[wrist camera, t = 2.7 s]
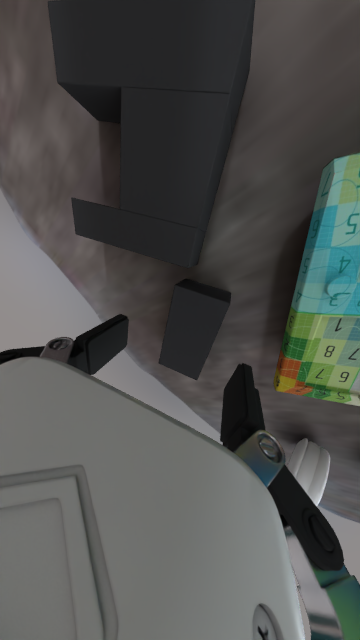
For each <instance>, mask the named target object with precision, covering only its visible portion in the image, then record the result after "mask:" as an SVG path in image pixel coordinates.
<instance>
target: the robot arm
mask: <svg viewBox="0 0 360 640" xmlns="http://www.w3.org/2000/svg"><path fill="white" fill-rule="evenodd" d="M128 323H129V320H128V319H127V316H125V315H122V314H119V315H117V316H115V317H113V318H111V319H109V320H108V321H106V322H104V323H102V324H100V325H98V326H97V327H95V328H93V329H91V330H89V331H87V332H85V333H83V334H81V335H80V336H78V337H76V340H75V341H73V339H71V338H67V337H60V338H56V339H53V340H51V341H49V342H48V343H47V344H46V346H42V347H31V348H21V349H11V350H6V351H3V352H1V353H0V640H306V639H305V633H304V628H303V622H302V617H301V612H300V605H299V600H298V594H297V589H296V584H295V579H294V574H293V571H294V573H295V576H296V578H297V581H298V583H299V586H297V588H298V590H299V593H300V595H301V598H302V600H303V603H304V605H305V609H306V612H307V615H308V618H309V623H310V629H311V640H360V584H359V583H358V581H357V579H356V577H355V576H354V575H352V576H351V575H350V574H349V572H348V570H347V568H346V567H345V565H344V563H343V562H344V558H343V552H342V549H341V546H340V543H339V540H338V538H337V536H336V534H335V532H334V530H333V529H332V527H331V526H330V524H329V523H328V521H327V520H326V518H325V517H324V516H323V515H322V513H321V512H320V510H319V509H318V508H317V506H316V505H315V504H314V502H313V501H312V500H311V498H310V497H309V496H308V495H307V493H306V492H305V491H304V489H303V488H302V487H301V485H300V484H299V483H298V481H297V480H296V479H295V477H294V476H293V475H292V473H291V472H290V471H289V469H288V468H287V467H286V465H285V453H284V450H283V448H282V446H281V445H280V443H279V442H278V440H277V439H276V438H275V437H274V436H273V435H272V434H270V433H269V432H267V431H265V425H264V419H263V413H262V408H261V402H260V396H259V391H258V390H257V389H255V387H254V380H253V373H252V367H251V366H249V365H246V364H244V363H242V365H241V364H239V365H238V366H237V368H236V370H235V371H234V373H233V375H232V377H231V378H230V380H229V382H228V383H227V385H226V387H225V389H224V396H223V409H222V423H221V436H220V441H221V442H223V445H221V444H219V443H218V442H216V441H214V440H213V439H211V438H209V437H207V436H206V435H204V434H202V433H200V432H198V431H196V430H195V429H193V428H191V427H189V426H187V425H185V424H183V423H181V422H180V421H178V420H176V419H174V418H172V417H170V416H168V415H166V414H164V413H162V412H161V411H159V410H157V409H155V408H153V407H151V406H149V405H147V404H145V403H143V402H141V401H140V400H138V399H136V398H134V397H132V396H130V395H128V394H126V393H124V392H122V391H120V390H118V389H116V388H114V387H113V386H110V385H109V384H107V383H105V382H103V381H101V380H99V379H97V378H95V377H93V376H91V375H93V374H95V373H96V372H97V371H98V370H99V369H101V368H102V367H103V366H104V365H105V364H106V363H107V362H109V361H110V360H111V359H112V358H113V357H114V356H116V355H117V354H118V353H119V352H120V351H121V350H123V349H124V348H125V347H126V345H127V339H128ZM292 568H293V569H292Z"/></svg>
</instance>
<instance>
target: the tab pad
mask: <svg viewBox="0 0 360 640" xmlns="http://www.w3.org/2000/svg"><path fill="white" fill-rule="evenodd" d="M230 300H231V293H230V292H226V291H223V290H220V289H217V288H214V287H211V286H207V285H204V284H201V283H198V282H195V281H192V280H188V279H184V280H183V281H181V282H179V283H178V284H176V285H175V287H174V292H173V297H172V301H171V306H170V311H169V316H168V321H167V325H166V330H165V335H164V340H163V344H162V349H161V354H160V359H159V364H161V365H164V366H166V367H168V368H170V369H173V370H175V371H177V372H179V373H181V374H184V375H186V376H188V377H190V378H193V379H195V380H197V379H198V377H199V374H200V372H201V370H202V367H203V365H204V363H205V360H206V358H207V356H208V354H209V351H210V349H211V347H212V344H213V342H214V340H215V337H216V335H217V333H218V331H219V328H220V326H221V324H222V321H223V319H224V317H225V314H226V312H227V310H228V308H229V305H230Z"/></svg>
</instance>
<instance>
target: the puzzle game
mask: <svg viewBox="0 0 360 640" xmlns="http://www.w3.org/2000/svg"><path fill="white" fill-rule="evenodd" d="M274 387H275V390H276V391H280V392H286V393H291V394H297V395H302V396H307V397H313V398H318V399H324V400H329V401H334V402H340V403H345V404H351V405H356V406H360V152H357V153H353V154H349V155H345V156H341V157H337V158H334V159H332V160H331V161H330V162H329V163H328V164H327V165H326V166H325V167H324V168H323V172H322V176H321V181H320V185H319V189H318V194H317V198H316V202H315V206H314V211H313V215H312V219H311V223H310V228H309V232H308V236H307V240H306V245H305V249H304V253H303V257H302V262H301V266H300V270H299V275H298V279H297V283H296V287H295V292H294V296H293V300H292V304H291V309H290V313H289V317H288V321H287V326H286V330H285V334H284V338H283V343H282V347H281V351H280V356H279V360H278V364H277V368H276V373H275V377H274Z"/></svg>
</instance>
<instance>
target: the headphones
mask: <svg viewBox="0 0 360 640" xmlns="http://www.w3.org/2000/svg"><path fill="white" fill-rule="evenodd" d="M329 467H330V456H329V453H328V452H327V450H325V449H324V448H322V447H319V446H318V445H317V444H315V443H313V442H311V441H310V442H308V439H307V438H304V439H302V440H300V441H299V442H298V443H297V445H296V446H295V448H294V451H293V453H292V455H291V458H290V461H289V463H288V466H287V468H288V469H289V471H290V472H291V473H292V475H293V476H294V477H295V479H296V480H297V481H298V483H299V484H300V485H301V487H302V488H303V489H304V491H305V492H306V493H307V495H308V496H309V497H310V498H311V500H312V501H313V502H314V504H315V505H316V506H317V505H318V504H319V502H320V500H321V497H322V495H323V492H324V489H325V485H326V482H327V477H328V473H329ZM298 584H299V583H298Z"/></svg>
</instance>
